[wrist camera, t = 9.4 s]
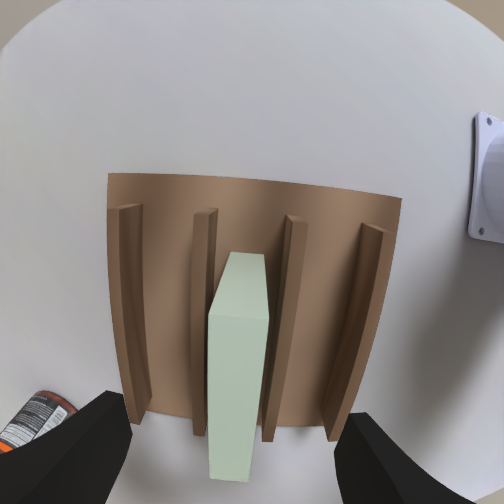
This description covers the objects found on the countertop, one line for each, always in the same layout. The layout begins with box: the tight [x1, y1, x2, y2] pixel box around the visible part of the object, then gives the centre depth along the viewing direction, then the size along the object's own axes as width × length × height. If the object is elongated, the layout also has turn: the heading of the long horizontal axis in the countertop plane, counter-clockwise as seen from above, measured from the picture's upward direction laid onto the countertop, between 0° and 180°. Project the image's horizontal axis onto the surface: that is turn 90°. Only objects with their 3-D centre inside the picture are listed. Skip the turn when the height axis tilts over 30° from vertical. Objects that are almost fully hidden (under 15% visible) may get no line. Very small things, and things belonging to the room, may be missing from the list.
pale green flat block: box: [208, 252, 269, 482], centre depth 12 cm, size 2×8×7 cm, turn 175°
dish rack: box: [107, 173, 402, 442], centre depth 15 cm, size 15×15×4 cm
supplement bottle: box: [0, 391, 77, 454], centre depth 14 cm, size 6×6×11 cm
